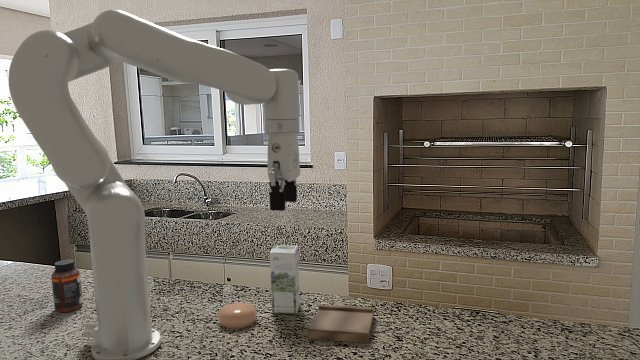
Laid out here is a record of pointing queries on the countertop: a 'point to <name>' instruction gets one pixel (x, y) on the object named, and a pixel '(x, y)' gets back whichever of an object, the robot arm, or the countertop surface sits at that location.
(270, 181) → the robot arm
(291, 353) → the countertop surface
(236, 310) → the peach smooth rounded part
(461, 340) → the countertop surface
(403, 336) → the countertop surface
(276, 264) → the syrup box
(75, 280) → the supplement bottle
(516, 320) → the countertop surface
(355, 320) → the brown flat square block
